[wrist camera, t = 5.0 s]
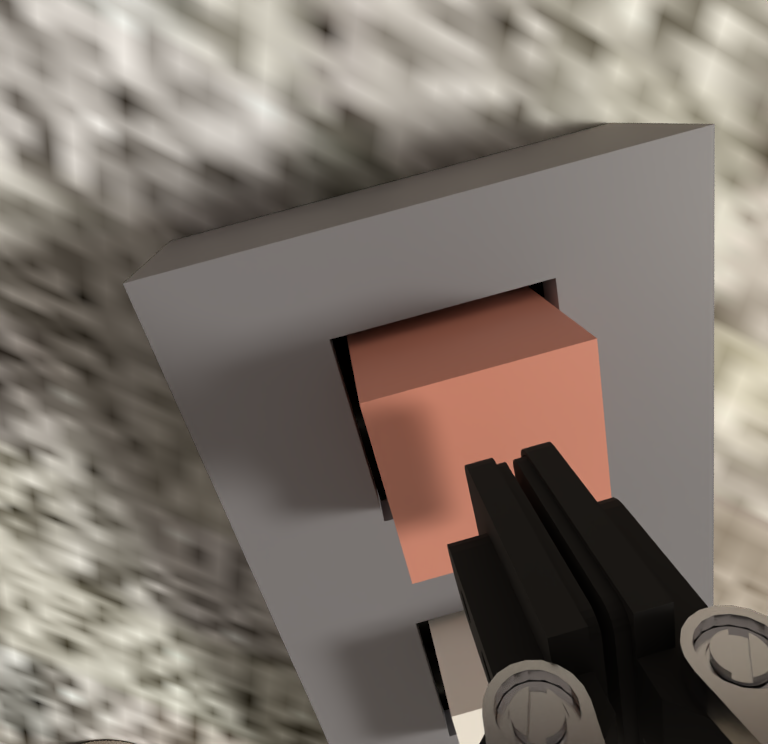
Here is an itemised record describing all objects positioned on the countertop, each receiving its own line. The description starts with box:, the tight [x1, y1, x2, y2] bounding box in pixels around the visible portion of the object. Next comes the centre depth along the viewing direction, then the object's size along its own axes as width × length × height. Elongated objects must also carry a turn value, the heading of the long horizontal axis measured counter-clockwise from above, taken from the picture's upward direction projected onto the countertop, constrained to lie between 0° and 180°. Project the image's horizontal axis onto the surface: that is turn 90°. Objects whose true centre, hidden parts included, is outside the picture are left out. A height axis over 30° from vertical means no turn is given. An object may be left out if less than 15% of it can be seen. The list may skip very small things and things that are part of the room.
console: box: [123, 123, 715, 744], centre depth 22 cm, size 14×31×5 cm, turn 14°
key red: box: [347, 286, 611, 584], centre depth 15 cm, size 5×5×5 cm
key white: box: [428, 610, 488, 744], centre depth 19 cm, size 5×5×5 cm
